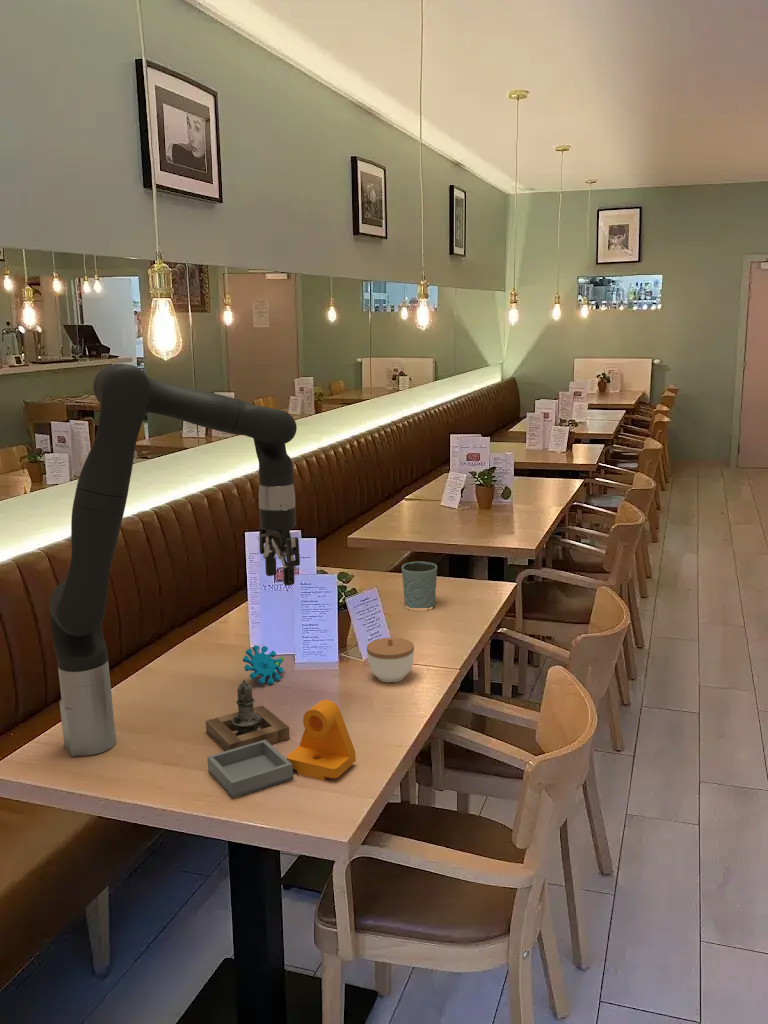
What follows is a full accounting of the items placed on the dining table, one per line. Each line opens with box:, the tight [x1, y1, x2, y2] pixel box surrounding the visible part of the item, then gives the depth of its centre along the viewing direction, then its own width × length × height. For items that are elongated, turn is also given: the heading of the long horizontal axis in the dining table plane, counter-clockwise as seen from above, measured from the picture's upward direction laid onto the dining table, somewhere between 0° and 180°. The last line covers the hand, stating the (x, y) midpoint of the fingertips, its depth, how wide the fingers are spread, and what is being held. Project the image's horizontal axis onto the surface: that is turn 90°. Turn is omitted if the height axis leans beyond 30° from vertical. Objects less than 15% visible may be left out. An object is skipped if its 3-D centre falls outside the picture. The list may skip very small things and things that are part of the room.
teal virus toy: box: [242, 645, 286, 685], centre depth 205 cm, size 11×6×10 cm
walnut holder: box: [205, 704, 291, 752], centre depth 177 cm, size 12×12×2 cm
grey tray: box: [206, 740, 294, 800], centre depth 161 cm, size 12×12×3 cm
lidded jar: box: [366, 637, 415, 684], centre depth 203 cm, size 11×11×9 cm
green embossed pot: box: [401, 561, 438, 608], centre depth 252 cm, size 10×10×12 cm
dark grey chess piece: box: [232, 679, 261, 736], centre depth 176 cm, size 6×6×12 cm
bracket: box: [286, 699, 357, 781], centre depth 162 cm, size 11×7×12 cm, turn 63°
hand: (280, 580), depth 189 cm, fingers open, 8 cm apart
